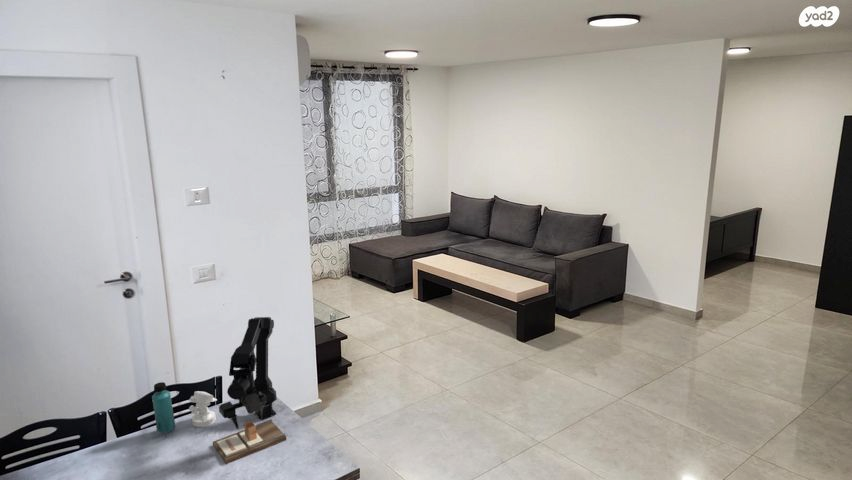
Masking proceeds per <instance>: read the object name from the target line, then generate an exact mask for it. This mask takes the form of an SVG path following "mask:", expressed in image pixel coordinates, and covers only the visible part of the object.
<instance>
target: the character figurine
mask: <svg viewBox="0 0 852 480" xmlns="http://www.w3.org/2000/svg"><path fill="white" fill-rule="evenodd" d="M193 393H194V394H193V395H191V396H190V398H189V400H188V401H189V402H190V403H196V404H195V405H193V404H192V405H190V406H189V407H188V410H189V411H191V414H194V415H193V416H192V417H191V421H192V425H193V426H194V427H195V428H204V427H208V426H210V425H212V424H214V423H215V422H216V420H217V418H216V416H217V415H216V412H214V411H213V410H210V409H209V407H208V406H210V405H211V403H212V402H217V401H218V399H217V398H215V397H214V395H213V394H210V393H208V392H206V391H199V390H197V391H194V392H193Z"/></svg>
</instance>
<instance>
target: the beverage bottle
mask: <svg viewBox="0 0 852 480" xmlns="http://www.w3.org/2000/svg"><path fill="white" fill-rule="evenodd" d="M153 391H154V393H153V395H151V400H152V406H153V414H154V419H155V420H154V421H155V427H156V428H155V429H156V431H157V432H158V433H160V434H166V433H169V432H172V431H173V430H174V429H175V427H176V421H175V415H174V409H173V404H172V402H173V401H172V396H171V392H170V391H169V390H167V384H166V382H163V381H162V382H160V381H159V382H157V383H155V384H154V385H153Z"/></svg>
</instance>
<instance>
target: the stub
mask: <svg viewBox="0 0 852 480" xmlns="http://www.w3.org/2000/svg"><path fill="white" fill-rule="evenodd" d="M255 425H256V424H254V422H253V421H252V420H250V419H249V420H248V421H245V422H243V426H244V429H245V431H244V432H241V433H239V435H240V436H241V437H242V438H243V440H244V441H245V442H246V443H247V445H248V446H249V447H250V446H251V445H254V444H257V443H259V442H262V441H263V440H262V439H261V437H260V436H259V435H258V434H257V433H256V426H255ZM244 429H243V430H244Z"/></svg>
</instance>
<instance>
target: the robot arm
mask: <svg viewBox="0 0 852 480" xmlns="http://www.w3.org/2000/svg"><path fill="white" fill-rule="evenodd" d="M274 327H275V320H274V319H272V317H270V316H262V317H261V316H260V317H259V316H257V317H252V318H249V319H248V322H247V328H246V331H245V333H244V337H243V338H242V341H241V344H240V345H239V346H238V347H236V348H235V350H234V352H233V353H232V355H231V357H230V363H229V372H228V375H229V376H231V377H233V379H232V381H231V382H230V384H229V386H228V388H227V391H226V392H227V396H228V397H229V398H231V399H233V400H237V401H238V402H236V403H234V404H233V403H232V402H231V401H226V402H225V403H221V404H220V405H219V407H218V411H219V414H220V415H222V417H223V419H230V420H231V421H232V423H233V425H234V427H235V428H236V430H238V429H239V424H238V419H237V416H238V415H237V414H236V410H239V409H241V408H244V407H245V409H246V411H247V413H248V414H250V415H252V414H255V416H257V418H258V419H260V420H262V421H264V420H265V419H267V418H270V417H273V416H275V415H277V412H276V411H275V410H274V408H273V403H274V402H275V401H277V391H276V390H275V388H274V387H273V382H272V380H271V378H270V377H269V339H270V337H271V336H272V335H273V332H274V331H273V329H274ZM254 372H255V378H254Z"/></svg>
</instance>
